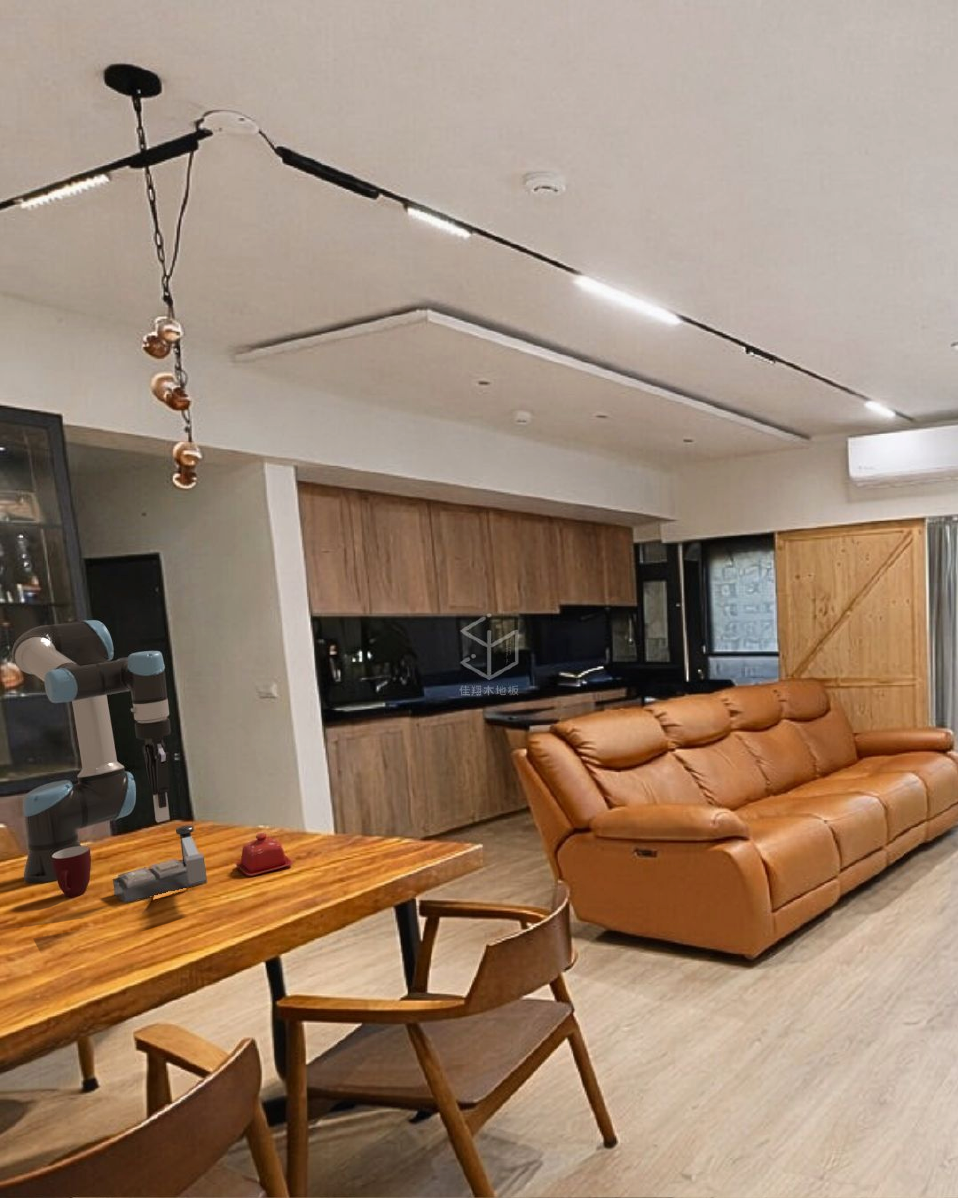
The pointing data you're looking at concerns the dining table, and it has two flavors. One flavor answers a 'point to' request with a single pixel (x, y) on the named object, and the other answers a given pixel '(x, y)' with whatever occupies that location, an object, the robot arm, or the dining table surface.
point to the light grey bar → (193, 861)
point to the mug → (72, 869)
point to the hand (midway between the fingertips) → (162, 820)
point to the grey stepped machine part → (155, 877)
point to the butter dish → (262, 856)
